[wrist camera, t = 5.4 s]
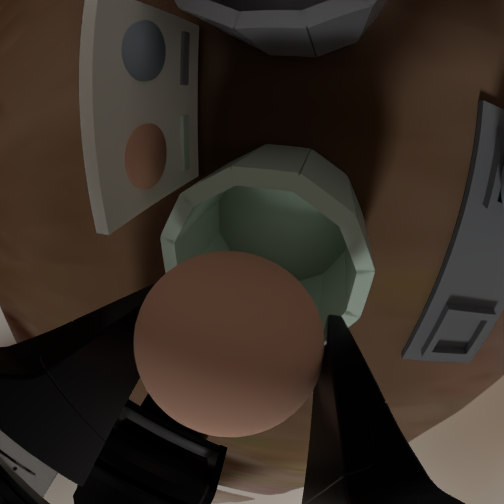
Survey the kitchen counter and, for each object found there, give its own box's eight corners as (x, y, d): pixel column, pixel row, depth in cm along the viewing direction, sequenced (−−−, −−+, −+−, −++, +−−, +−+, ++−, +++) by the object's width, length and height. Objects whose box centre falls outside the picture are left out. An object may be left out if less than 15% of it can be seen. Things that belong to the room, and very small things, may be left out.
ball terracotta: (315, 353, 10) (291, 477, 6) (191, 327, 11) (131, 427, 7) (343, 233, 8) (342, 390, 3) (177, 211, 9) (62, 310, 4)
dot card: (202, 176, 14) (113, 235, 8) (188, 175, 14) (96, 232, 8) (203, 25, 10) (103, -13, 4) (188, 27, 10) (85, -4, 4)
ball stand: (468, 357, 15) (471, 368, 14) (401, 353, 16) (403, 365, 15) (553, 139, 7) (564, 143, 6) (478, 100, 8) (489, 100, 7)
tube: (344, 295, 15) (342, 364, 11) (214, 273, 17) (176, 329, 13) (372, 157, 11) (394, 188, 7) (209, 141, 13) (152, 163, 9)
